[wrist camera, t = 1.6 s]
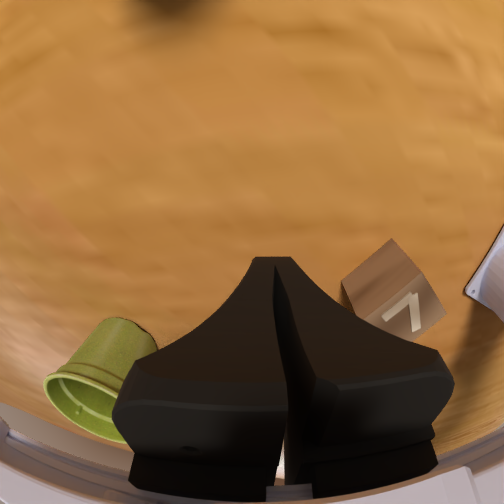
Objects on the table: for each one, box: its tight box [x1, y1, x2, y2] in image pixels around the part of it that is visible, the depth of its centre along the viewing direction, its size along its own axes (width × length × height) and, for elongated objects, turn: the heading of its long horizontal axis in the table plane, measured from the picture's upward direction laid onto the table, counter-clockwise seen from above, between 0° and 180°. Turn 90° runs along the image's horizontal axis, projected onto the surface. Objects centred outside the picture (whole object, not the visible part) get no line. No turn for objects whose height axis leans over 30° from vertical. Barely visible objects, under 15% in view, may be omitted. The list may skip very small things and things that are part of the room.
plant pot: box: [43, 318, 157, 444], centre depth 21 cm, size 9×9×9 cm
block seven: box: [341, 238, 447, 342], centre depth 19 cm, size 5×5×5 cm
